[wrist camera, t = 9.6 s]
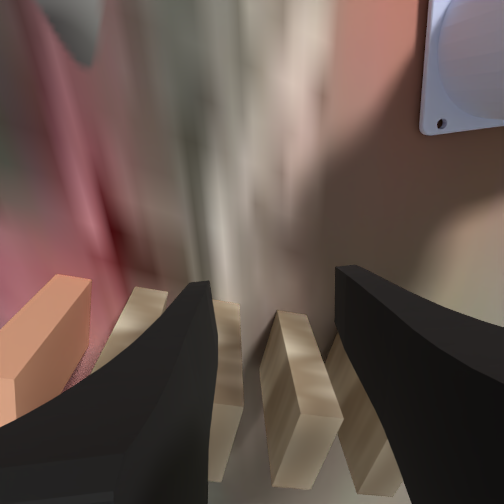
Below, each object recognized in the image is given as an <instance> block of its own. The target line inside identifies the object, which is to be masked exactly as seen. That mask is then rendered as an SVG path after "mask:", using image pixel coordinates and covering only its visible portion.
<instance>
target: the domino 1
mask: <svg viewBox="0 0 504 504" xmlns="http://www.w3.org/2000/svg"><path fill="white" fill-rule="evenodd" d="M91 287H92V280H91V279H84V278H78V277H72V276H66V275H60V274H56V275H55V276H54V277H53V278H52V279H51V280H50V281H49V282H48V283H47V284H46V285H45V286H44V287H43V288H42V289H41V290H40V291H39V292H38V293H37V294H36V295H35V296H34V297H33V298H32V299H31V300H30V301H29V302H28V303H27V304H26V305H25V306H24V307H23V308H22V309H21V310H20V311H19V312H18V313H17V314H16V315H15V316H14V317H13V318H12V319H11V320H10V321H9V322H8V323H7V324H6V325H5V326H3V327H2V328H1V329H0V427H2V426H4V425H6V424H8V423H10V422H12V421H14V420H16V419H17V418H19V417H21V416H23V415H25V414H27V413H29V412H30V411H32V410H34V409H36V408H38V407H39V406H41V405H43V404H45V403H46V402H48V401H50V400H52V399H53V398H55V397H57V396H58V395H60V394H61V392H62V390H63V389H64V387H65V385H66V384H67V382H68V380H69V378H70V377H71V375H72V373H73V372H74V370H75V368H76V366H77V365H78V363H79V361H80V360H81V358H82V356H83V354H84V353H85V351H86V349H87V348H88V346H89V326H90V307H91Z"/></svg>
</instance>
